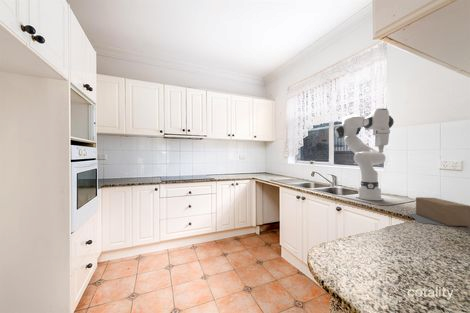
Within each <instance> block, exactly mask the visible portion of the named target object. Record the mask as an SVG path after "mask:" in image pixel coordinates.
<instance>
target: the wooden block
mask: <svg viewBox="0 0 470 313" xmlns="http://www.w3.org/2000/svg"><path fill="white" fill-rule="evenodd" d="M415 214H418V215H420V216H423V217H426V218H429V219H432V220H434V221H437V222H440V223H443V224H446V225H451V226H450V227H453V226H458V227H470V205H468V204H464V203H458V202H455V201H450V200H446V199H442V198H441V199H440V198H437V197H422V196H421V197H419V196H418V197H415Z"/></svg>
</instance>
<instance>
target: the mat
mask: <svg viewBox="0 0 470 313" xmlns="http://www.w3.org/2000/svg"><path fill="white" fill-rule="evenodd" d="M407 215H408V216H410V217H411V218H413V219H414V220H416V222H418V223H421V224H427V225H436V226H445V227H452V226H451V225H446V224H443V223H440V222H437V221H434V220H432V219H429V218H426V217H423V216H420V215H418V214H416V213H407Z"/></svg>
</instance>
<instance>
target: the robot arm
mask: <svg viewBox="0 0 470 313" xmlns="http://www.w3.org/2000/svg"><path fill="white" fill-rule="evenodd" d="M341 123H342V124H341V125H338V126H337V127H336V128H335V130H334V134H335V137H336V138H338V139H343V138H344V142H345V144H346V146H347V147H348V148H349V149H350V150H351V151H352V153H353V154H354V155H353V161H354V163H355V164H357V166H358V168H359V170H360V174H361V176H360V177H361V179H360V180H361V181H360V186H359V188H357V193H358V194H356V197H355V198H356V199H361V200H365V201H366V200H367V201H384V200H385V199H384V198H383V197H382V191H381V190H382V189H381V188H380V187H379V180H378V179H379V176H378V174H379V173H378V171H377V170H375V168H374V167H373V166H374V165H375V166H376V165H381V164H384V163H385V161H386V155H385V153H384V148H385V146H388V145H389V141H390V140H389V139H390V138H389V137H390V133H391V130H390V129H391V128H392V126H393V125H394V118H393V117H392V116H391V115H390V113H389V109H388V108H383V107H382V108H375V109H374V110H373V111H372V112H371V114H369V115H368V116H362V115H357V114H351V115H347V116H345V117H344V118H342V121H341ZM362 128H364V129H366V130H372V136H374V138H375V139H374V146H375V147H376V148H377V147H378V151H377V150H376V149H374V148H373V147H371V146H369V145H367V144H366V143H364V142H363V140H361V139H360V138H359V137H358V136H357V135H360V132H361V130H362Z"/></svg>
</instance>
